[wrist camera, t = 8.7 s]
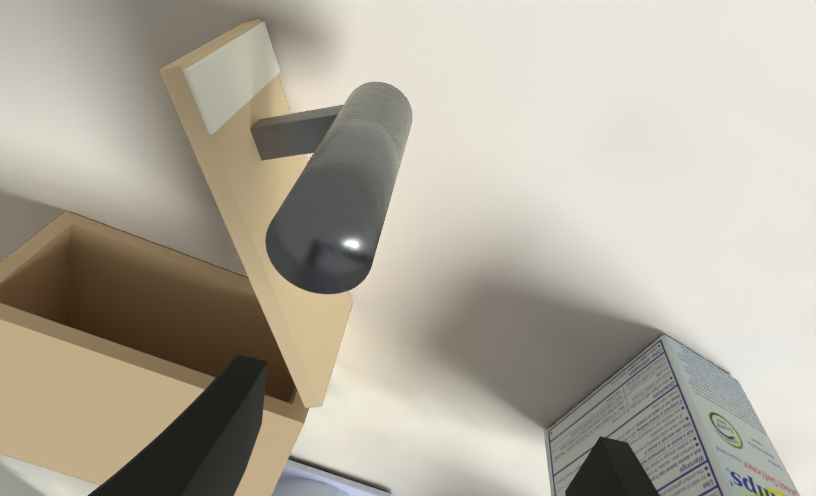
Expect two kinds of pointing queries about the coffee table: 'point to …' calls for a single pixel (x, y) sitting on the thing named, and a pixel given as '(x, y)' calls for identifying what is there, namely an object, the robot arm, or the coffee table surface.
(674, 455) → the medicine box
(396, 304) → the coffee table surface
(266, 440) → the carton
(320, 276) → the wooden box lid
